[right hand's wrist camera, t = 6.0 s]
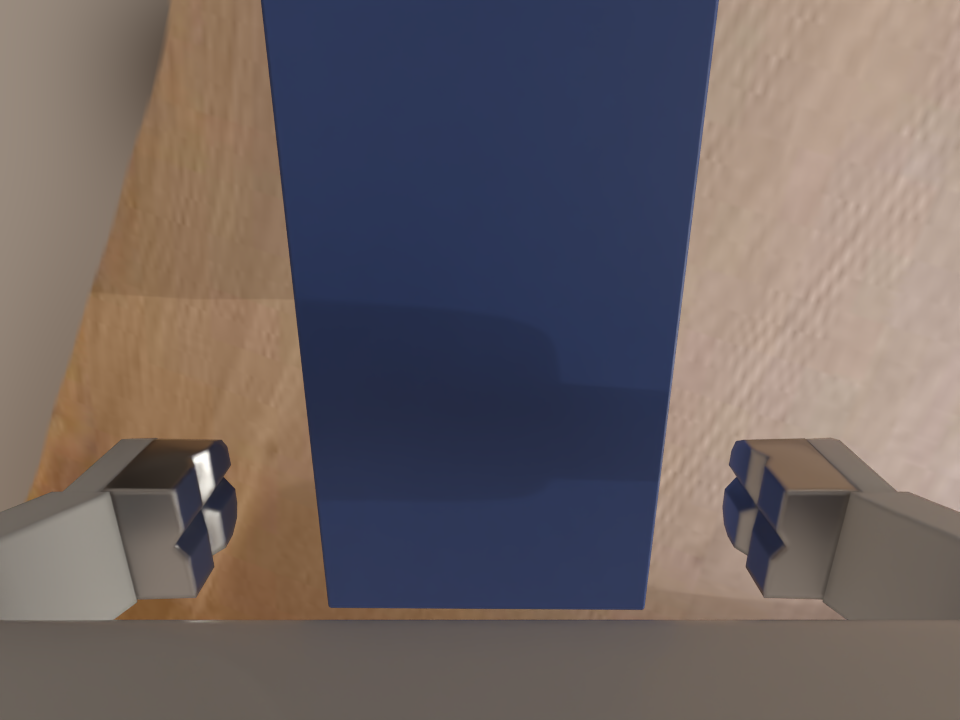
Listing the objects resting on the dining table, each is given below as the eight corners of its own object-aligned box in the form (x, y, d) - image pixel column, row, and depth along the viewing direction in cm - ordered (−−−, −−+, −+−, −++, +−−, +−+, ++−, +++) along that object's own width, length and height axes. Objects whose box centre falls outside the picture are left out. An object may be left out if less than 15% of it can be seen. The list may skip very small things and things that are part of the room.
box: (569, 378, 23) (644, 611, 12) (402, 378, 24) (327, 609, 12) (619, -487, 15) (980, -2111, 4) (359, -485, 15) (26, -2085, 4)
